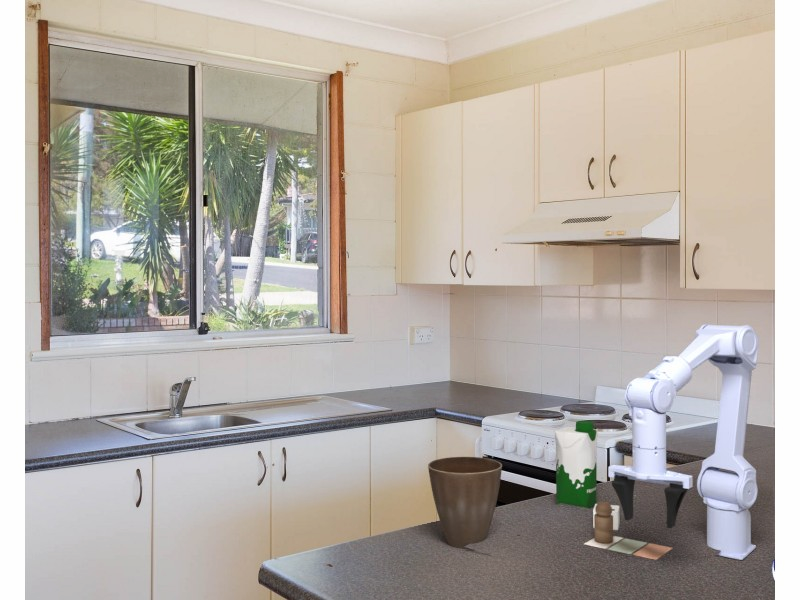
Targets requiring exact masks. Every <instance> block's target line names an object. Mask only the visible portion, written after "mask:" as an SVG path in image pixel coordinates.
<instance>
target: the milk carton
mask: <svg viewBox="0 0 800 600" xmlns="http://www.w3.org/2000/svg"><path fill="white" fill-rule="evenodd" d="M598 433H599V430H598V429H595V427H594V422H593V421H590V420H578V421H575V426H565V427H562V428H559V429H557V430H555V431H554V438H555V440H554V441H555V488H556V489H555V490H556V492H555V493H556V495H555V496H556V505H559V504H565V505H570V506H575V507H580V508H587V509H592V507H593V508H594V506H595V504H597V493H598V492H597V486H598V485H597V483H598V482H597V479H598V478H597V476H598V474H597V467H598V465H597V464H598V463H597V449H598V448H597V446H598V445H597V444H598V435H599V434H598Z"/></svg>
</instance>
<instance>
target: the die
mask: <svg viewBox="0 0 800 600" xmlns="http://www.w3.org/2000/svg"><path fill="white" fill-rule="evenodd" d="M597 504H598V503H596V504H595V505H594V506H593V510H592V517H593V518H592V521H593V522H592V523H593V524H592V526H593V527H592V528H593V529H594V515H595V514H597V513H596V510H595V508H596V505H597ZM610 505H611V507H612V513H611V515H612V516H613V531H618V530H619V528H620V505H617V504H615V505H613V504H610Z"/></svg>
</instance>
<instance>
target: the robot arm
mask: <svg viewBox="0 0 800 600" xmlns="http://www.w3.org/2000/svg"><path fill="white" fill-rule="evenodd" d="M759 341H760V339H759V337H758V335H757V333H756V332H755V330H754V329H753V327H752V326H751V325H746V324H745V325H722V324H720V325H719V324H708V323H706V324H702V325H701V326H700V328H698V329H696V331H695V334H694V340H693V341H692V342H691V343H689V345H688V346H687V347H686V348H685V349H684V350H683V351H681V353H680V354H679V355H678V356H676V355H669V356H667V355H666V356H665V357H664V358H663V359H662V361H661V362H660V363H659V364H658V365H657V366H656V367H654V368H653V369H651V370H650V371H648V373H647V374H645V376H644V377H636V378H634V379H633V380H631V381H630V382H629V383H628V385H627V387H626V391H625V393H624V401H625V403H626V405H627V407H628V416H629V418H630V419H631V420H632V421H631V424H632V425H631V428H632V433H631V434H632V435H631V437H632V441H631V442H632V444H631V445H632V450H631V451H632V466H631V465H618V464H617V465H616V464H612V465H609V466H608V469H607V470H608V471H607V472H608V478H611V479H612V478H613V481H611V486H612V488H613V490H614V491H615V494H616V495H617V497H618V500H619V502H620V505H621V508H622V512H623V516H624V520H625V521H630V520H631V519H633V518H634V491H635V483H636V481H640V482H647V483H652V484H653V483H654V484H658V485H659V484H660V485H667V486H668V487H665V488H664V496H665V500H666V501H665V502H666V527H667V528H668V529H672V528H674V527H675V526H676V522H677V518H678V513H679V510H680V506H681V505H682V502H683V500H684V498H685V496H686V494H687V492H688V491H689V490H690V488H693V486H694V485H693V483H694V482H693V481H694V480H693V478H694V477H693V475H690V474H685V473H681V472H676V471H672V470H668V469H667V412H668V411H670V410H671V408H672V406H673V404H674V399H675V398H676V396H677V394H678V393H679V392H680V390H682V389H683V388H684V387H686V385H687V384H689V383H690V382H691V380H692V378H693V371H694V370H696V369H697V368H698V367H700V366H701V365H702V364H703V363H705V362H707V361H708V362H709V363H710V364H711V365H713V366H714V367H716V368H718V369H719V372H721V375H722V378H721V389H720V396H719V397H720V398H719V406H718V418H717V424H716V425H717V427H716V437H715V446H714V453H713V454H711V455H709V456H708V457H706V458H705V459H704V460H702V462H701V468H700V472H699V474H698V476H697V480H696V489H697V491H698V494H699V496H700V498H702V500H703V502H702V503H703V504H706V545H707V546H708V547H709V548H711V549H714V550H717V551H719V552H716V554H715V555H716V556H721V557H725V558H730V559H733V560H734V559H735V560H741V561H743V560H744V559H745V558H746V557H748V555H749V554H751V553H752V552H753V551H754V550H755V549H756V548H757V546H756V544H753V543H752V540H751V539H752V536H751V534H752V533H751V532H752V531H751V530H752V529H751V526H752V522H751V521H752V516H751V512H750V508H751V507H752V506H753V505H754V503H755V502H756V500H757V497H758V491H759V490H758V485H757V484H758V483H757V470H756V468H755V467H754V466H753V465H751V463H750V462H748V460H747V459H745V457H744V454H745V444H746V433H747V423H748V412H749V405H750V404H749V403H750V394H751V383H752V376H753V375H752V374H753V370H755V369H757V362H758V354H759V353H758V352H759V345H760V343H759ZM720 469H721V470H720ZM722 469H723V470H722ZM727 470H728V471H727ZM730 471H732V472H730Z"/></svg>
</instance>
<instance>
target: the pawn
mask: <svg viewBox="0 0 800 600" xmlns="http://www.w3.org/2000/svg"><path fill="white" fill-rule="evenodd" d="M596 504H597V505H596V508H595V510H596V513H597V514H595V515H594V528H593V529H594V537H593V538H595V542H597V543H602V544H610V543H613V536H614V530H613V516H612V515H611V513H612V507H611V505H612V504H610V503H609V502H607V501H600V502H597V503H596Z"/></svg>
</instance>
